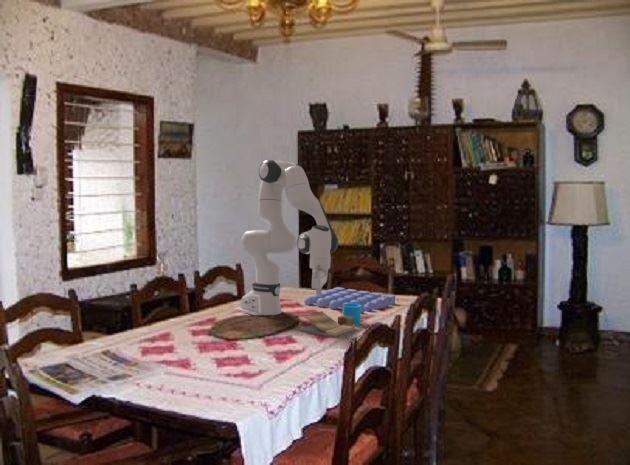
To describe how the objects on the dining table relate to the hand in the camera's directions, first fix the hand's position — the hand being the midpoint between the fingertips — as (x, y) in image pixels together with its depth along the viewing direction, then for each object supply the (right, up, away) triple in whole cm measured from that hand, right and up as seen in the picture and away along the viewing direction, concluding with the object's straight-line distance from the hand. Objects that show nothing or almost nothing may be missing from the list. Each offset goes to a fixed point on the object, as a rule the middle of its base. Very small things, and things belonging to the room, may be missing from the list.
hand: (318, 296), depth 295 cm
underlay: (+3, -15, -1) cm, 15 cm away
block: (+12, -15, +7) cm, 20 cm away
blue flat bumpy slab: (+16, -10, +59) cm, 61 cm away
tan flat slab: (+2, -11, 0) cm, 11 cm away
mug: (+15, -14, +19) cm, 28 cm away
